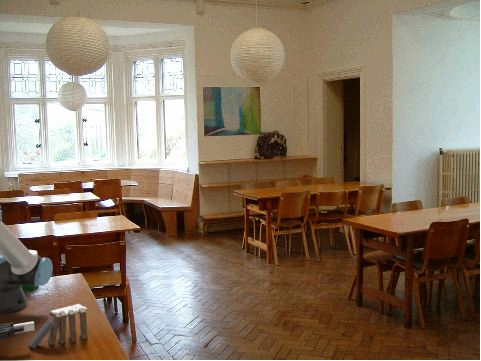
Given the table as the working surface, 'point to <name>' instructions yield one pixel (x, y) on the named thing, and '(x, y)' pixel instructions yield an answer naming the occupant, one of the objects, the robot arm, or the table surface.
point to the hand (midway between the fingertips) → (34, 325)
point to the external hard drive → (73, 307)
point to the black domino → (41, 333)
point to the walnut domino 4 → (83, 323)
